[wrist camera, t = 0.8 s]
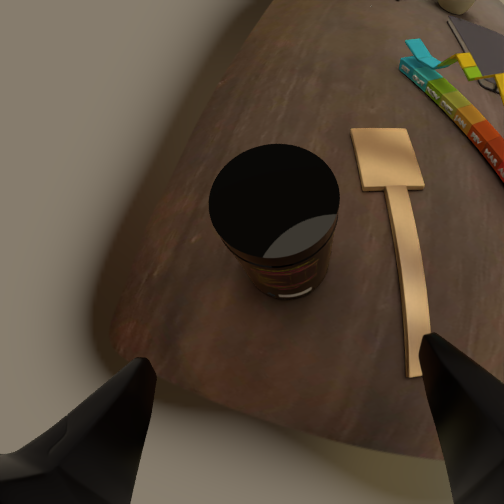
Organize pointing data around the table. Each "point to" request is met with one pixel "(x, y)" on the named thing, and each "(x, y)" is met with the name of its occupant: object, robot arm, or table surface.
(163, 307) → the table surface
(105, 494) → the robot arm
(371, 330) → the table surface
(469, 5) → the bowl
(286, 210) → the supplement container
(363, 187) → the spatula
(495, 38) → the notebook
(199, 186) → the table surface
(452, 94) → the chart
